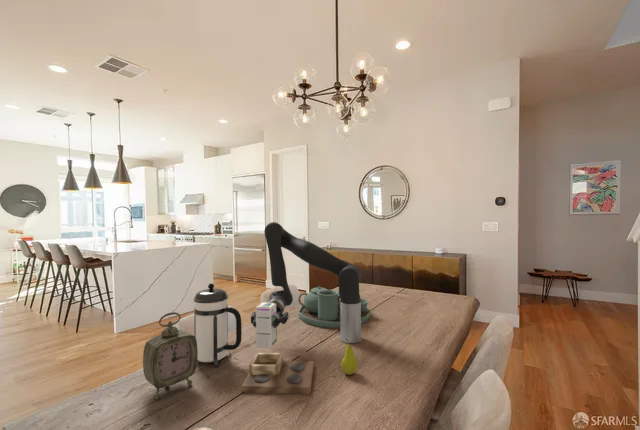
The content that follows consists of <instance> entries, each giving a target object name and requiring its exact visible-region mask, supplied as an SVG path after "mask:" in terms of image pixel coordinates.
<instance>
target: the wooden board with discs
mask: <svg viewBox="0 0 640 430" xmlns="http://www.w3.org/2000/svg"><path fill="white" fill-rule="evenodd" d="M314 362H315V361H313V360H309V361H308V360H284V353H280V352H258V353H255V354H254V356H253V357H252V359H251V360H250V363H249V365H248V372H247V373H248V374H247V375H246V377H245V379H244V381H243V383H242V385H241V393H251V394H252V393H254V394H255V393H256V394H257V393H258V394H262V393H263V394H296V395H297V394H302V395H303V394H305V395H306V394H307V395H310V394H311V390H312V384H313V383H312V382H313V377H314V375H313V374H314V369H315V367H314V365H315V363H314Z"/></svg>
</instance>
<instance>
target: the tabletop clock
mask: <svg viewBox="0 0 640 430" xmlns="http://www.w3.org/2000/svg"><path fill="white" fill-rule="evenodd" d="M171 315H177V316H178V319H177V320H176V321H174V322H172V321H168V323H167V324H163V323H161V322H162V320H163V319H164V318H165V317H166V318H167V317H168V316H171ZM181 317H182V316H181V314H180V313H178V312H175V311H174V312H173V311H172V312H169V313H165V314H164V315H162V316H161V317H160V318H159V321H158V325H160V326H161V327H163V328H164V329H163V330H162V331H161V334H158V335H156V336H152V337H151V338H149V339H148V340H146V341H145V345H144V348H143V352H142V353H143V355H142V369H143V375H144V378H145V380H146V381H147V382H149V384H151V385H152V386H154V388H155V389H156V393H155V394H154V395H153V399H154V400H158V399H159V398H160V394H159V392H160V389H164V388H170V386H174V385H176V384H178V383H181V382H183V381H184V380H186V384H187V385H188V386H191V385H192V384H193V380H192V379H189V378H190V377H191V376H193V375H195V373H196V370H197V366H198V362H197V357H198V350H197V341H196V338H195V336H194V334H192V333H189V332H187V331H185V330H182V329H178V327H176V326H175V325H177V324H178V323H179V322H180V321H181Z"/></svg>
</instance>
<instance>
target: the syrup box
mask: <svg viewBox="0 0 640 430" xmlns="http://www.w3.org/2000/svg"><path fill="white" fill-rule="evenodd" d="M255 312H256V327H255V328H256V330H255V335H256V337H255V341H256V342H255V343H256V345H255V346H256V347H257V348H263V349H272V348H273V346H274V345H275V344H276V343H277V342H278V341H277V340H278V336H277V335H278V333H277V330H278V328H277V327H278V326H277V327H276V328H274V321H275V319H276V303H270V302H269V301H268V302H265V301H264V302H261V303H259V304H258V305H257V306H256V307H255Z"/></svg>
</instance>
